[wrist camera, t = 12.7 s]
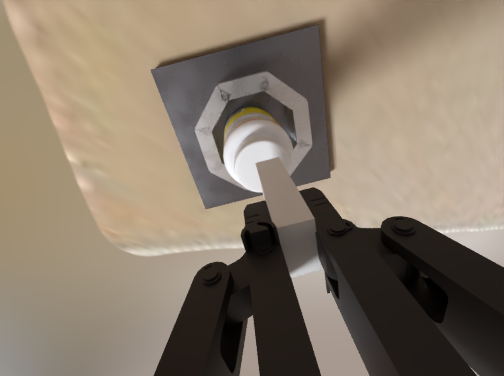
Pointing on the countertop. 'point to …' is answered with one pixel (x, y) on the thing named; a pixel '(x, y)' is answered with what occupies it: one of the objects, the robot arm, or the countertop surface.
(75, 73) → the countertop surface
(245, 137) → the supplement bottle
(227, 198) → the collar
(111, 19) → the countertop surface
